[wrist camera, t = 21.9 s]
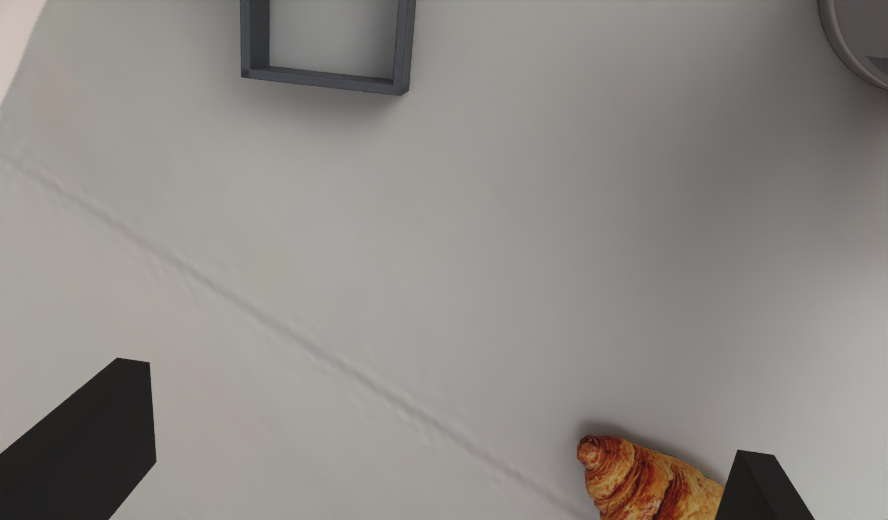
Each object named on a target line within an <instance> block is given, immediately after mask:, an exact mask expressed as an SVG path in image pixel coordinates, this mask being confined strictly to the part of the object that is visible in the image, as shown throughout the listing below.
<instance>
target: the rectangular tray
mask: <svg viewBox="0 0 888 520" xmlns="http://www.w3.org/2000/svg"><path fill="white" fill-rule="evenodd" d="M415 6H416V0H399V3H398V17H397V31H396V45H395V59H394V73H393V80H387V79H378V78H369V77H361V76H352V75H343V74H334V73H325V72H317V71H308V70H299V69H290V68H282V67H273V66H269V0H240V23H241V77H242V78H250V79H259V80H268V81H276V82H285V83H294V84H303V85H311V86H320V87H329V88H337V89H346V90H355V91H363V92H372V93H381V94H390V95H398V96H401V95H403V94H404V93H406V92H408V91H409V81H410V68H411V56H412V44H413V31H414V19H415Z"/></svg>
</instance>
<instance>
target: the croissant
mask: <svg viewBox="0 0 888 520" xmlns="http://www.w3.org/2000/svg"><path fill="white" fill-rule="evenodd" d="M577 459H579V460H580V461H581V462H582V463H583V464H584V466H585V467H586V472H585V484H586V488H587V491H588V493H589V497H591V498H593V499H594V504H595V506H596V507H597V508H598V509H599V510H600V517H601V520H714V519H715V516H716V513H717V510H718V507H719V504H720V501H721V498H722V495H723V492H724V489H725V487H724V486H722V485H720V484H719V483H718V482H716V481H714V480H711V479H708V478H704V476H703V474H702V473H701V472H700V471H699V470H697V469H696V468H694V467H693V466H691V465H689V464H687V463H685V462H683V461H681V460H679V459H677V458H674V457H672V456H668V455H663V454H661V453H659V452H657V451H654V450H651V449H648V448H645V447H643V446H640V445H637V444H633V443H631V442H630V441H628V440H626V439H624V438H621V437H612V436H592V435H586V436H585V437H584V438H582V439H581V440H580V444H579V445H578V446H577Z"/></svg>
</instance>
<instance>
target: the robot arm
mask: <svg viewBox="0 0 888 520" xmlns="http://www.w3.org/2000/svg"><path fill="white" fill-rule="evenodd" d="M818 4H819V10H820V16H821V20H822V24H823V27H824V30H825V33H826V35H827V37H828V40H829V42H830V44H831V45H832V47H833V49H834V51H835V52H836V53H837V55H838V56H839V57H840V59H841V60H842V61H843V62H844V63H845V64H846V65H847V67H848V68H850V69H851V70H852V71H853V72H854V73H855V74H857V75H858V76H860V77H861V78H863V79H864V80H866V81H867V82H869V83H871V84H873V85H875V86H878V87H880V88H883V89H886V90H888V0H818ZM155 463H156V448H155V434H154V419H153V405H152V391H151V376H150V362H143V361H136V360H129V359H123V358H116V359H115V360H114V361H112V362H111V363H110V364H109V365H108V366H106V367H105V368H104V369H103V370H101V371H100V372H99V373H98V374H97V375H95V376H94V377H93V378H92V379H91V380H89V381H88V382H87V383H86V384H84V385H83V386H82V387H81V388H80V389H78V390H77V391H76V392H75V393H74V394H72V395H71V396H70V397H69V398H67V399H66V400H65V401H64V402H63V403H61V404H60V405H59V406H58V407H57V408H55V409H54V410H53V411H52V412H50V413H49V414H48V415H47V416H46V417H44V418H43V419H42V420H41V421H40V422H38V423H37V424H36V425H35V426H33V427H32V428H31V429H30V430H29V431H27V432H26V433H25V434H24V435H23V436H21V437H20V438H19V439H18V440H16V441H15V442H14V443H13V444H12V445H10V446H9V447H8V448H7V449H6V450H4V451H3V452H2V453H1V454H0V520H109V519H110V517H111V516H112V515H113V514H114V513H115V511H116V510H117V509H118V508H119V507H120V505H121V504H122V503H123V502H124V500H125V499H126V498H127V497H128V496H129V494H130V493H131V492H132V491H133V490H134V488H135V487H136V486H137V485H138V483H139V482H140V481H141V480H142V479H143V477H144V476H145V475H146V474H147V473H148V471H149V470H150V469H151V468H152V467H153V465H154V464H155ZM714 520H815V519H814V518H813V516H812V514H811V513H810V511H809V510H808V508H807V507H806V505H805V503H804V502H803V500H802V499H801V497H800V495H799V494H798V492H797V491H796V489H795V488H794V486H793V484H792V483H791V481H790V480H789V478H788V477H787V475H786V473H785V472H784V470H783V469H782V467H781V465H780V464H779V462H778V461H777V459H776V458H775V456H774V455H770V454H764V453H757V452H750V451H743V450H737V453H736V456H735V459H734V462H733V465H732V468H731V471H730V474H729V477H728V480H727V483H726V486H725V489H724V492H723V495H722V498H721V501H720V504H719V507H718V510H717V513H716V516H715V519H714Z"/></svg>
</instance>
